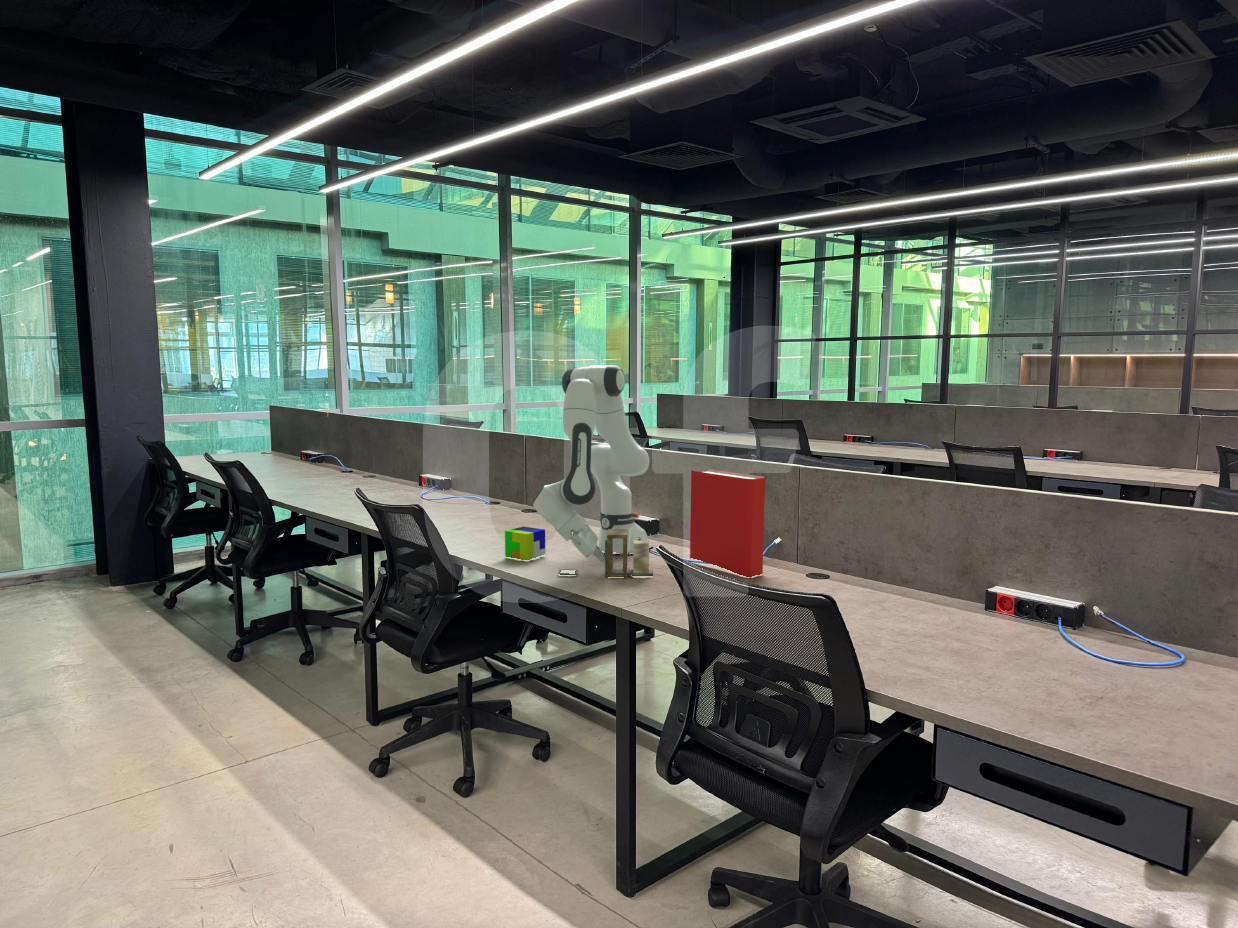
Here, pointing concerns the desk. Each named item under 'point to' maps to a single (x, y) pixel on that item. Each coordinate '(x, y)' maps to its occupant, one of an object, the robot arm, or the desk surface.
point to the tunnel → (612, 535)
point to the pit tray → (568, 573)
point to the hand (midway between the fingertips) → (603, 558)
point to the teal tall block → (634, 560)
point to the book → (728, 520)
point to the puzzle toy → (524, 543)
